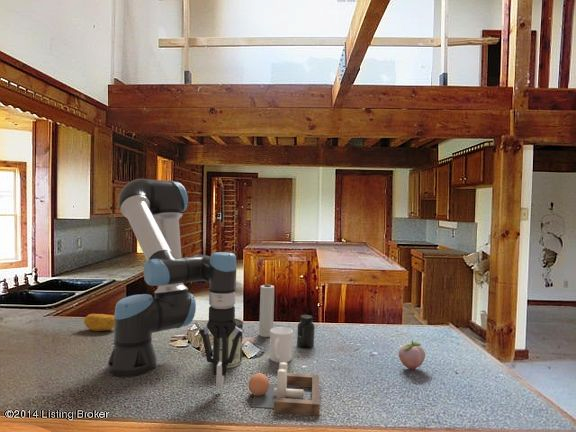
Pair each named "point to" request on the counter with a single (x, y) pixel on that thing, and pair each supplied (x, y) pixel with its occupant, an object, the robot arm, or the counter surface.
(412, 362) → the decorative fruit
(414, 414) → the counter surface
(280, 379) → the pin
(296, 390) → the front pin
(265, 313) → the paper towel roll
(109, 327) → the potato
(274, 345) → the mug
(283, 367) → the pin
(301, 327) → the supplement bottle
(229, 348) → the coffee can
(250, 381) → the ball
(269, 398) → the pin deck mark
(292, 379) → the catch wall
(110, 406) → the counter surface
